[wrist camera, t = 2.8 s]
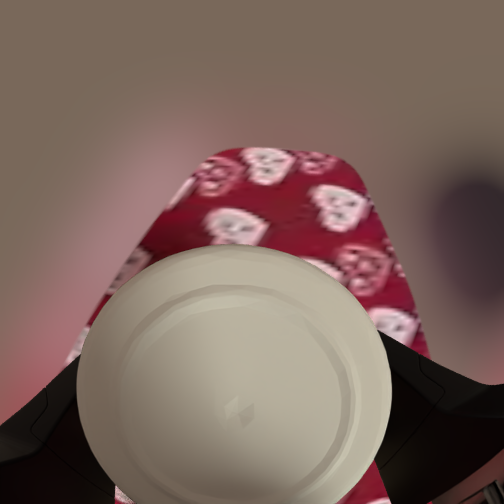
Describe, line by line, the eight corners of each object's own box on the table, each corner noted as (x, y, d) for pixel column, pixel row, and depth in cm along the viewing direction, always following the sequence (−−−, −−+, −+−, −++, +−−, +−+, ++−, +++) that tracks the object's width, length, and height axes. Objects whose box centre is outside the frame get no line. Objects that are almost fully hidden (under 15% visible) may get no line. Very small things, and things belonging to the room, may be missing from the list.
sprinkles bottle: (199, 407, 14) (122, 548, 2) (183, 333, 16) (50, 264, 3) (275, 392, 15) (417, 486, 3) (259, 319, 17) (357, 210, 4)
